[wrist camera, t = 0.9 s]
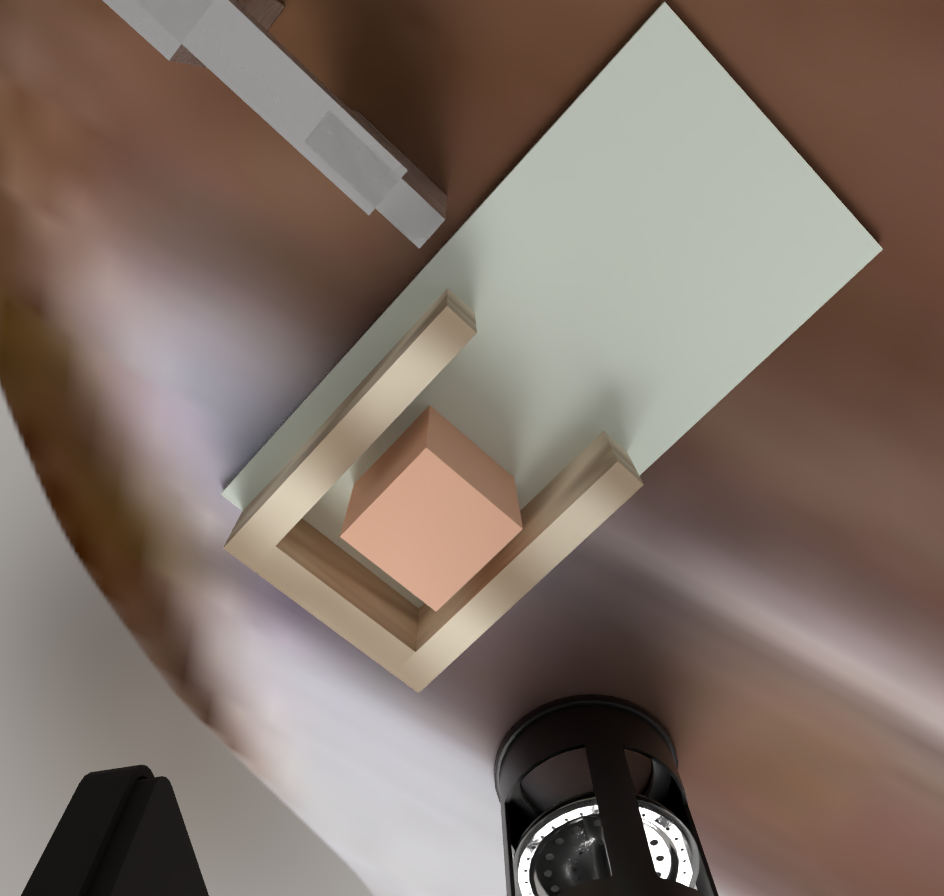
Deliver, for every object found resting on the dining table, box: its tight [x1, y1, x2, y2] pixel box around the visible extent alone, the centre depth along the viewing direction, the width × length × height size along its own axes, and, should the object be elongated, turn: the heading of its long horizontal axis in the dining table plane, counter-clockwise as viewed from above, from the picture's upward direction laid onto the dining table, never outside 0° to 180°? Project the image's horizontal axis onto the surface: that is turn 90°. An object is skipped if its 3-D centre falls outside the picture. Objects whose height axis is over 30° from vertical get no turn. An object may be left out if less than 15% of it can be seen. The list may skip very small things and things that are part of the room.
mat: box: [221, 2, 883, 608], centre depth 37 cm, size 26×13×1 cm, turn 137°
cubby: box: [223, 288, 644, 693], centre depth 36 cm, size 14×11×4 cm
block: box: [340, 405, 523, 611], centre depth 36 cm, size 5×5×5 cm
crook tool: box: [103, 0, 447, 249], centre depth 29 cm, size 3×12×8 cm, turn 47°
